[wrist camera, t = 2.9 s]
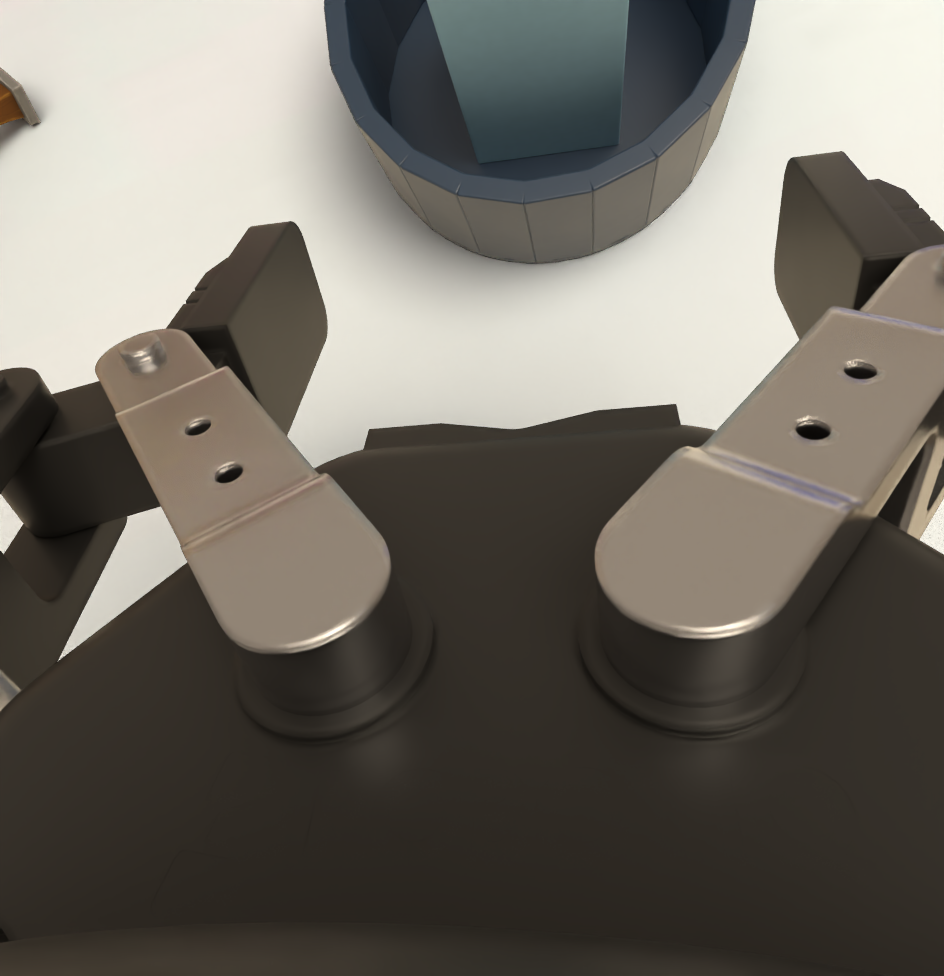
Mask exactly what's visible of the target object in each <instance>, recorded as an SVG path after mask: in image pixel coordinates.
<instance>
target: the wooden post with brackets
mask: <svg viewBox="0 0 944 976" xmlns="http://www.w3.org/2000/svg"><path fill="white" fill-rule="evenodd" d="M20 118H23V119H24V120H25V121H26V122H27V123H29V124H30V125H31V126H32V125H33V124H35V123H41V122H40V120H39V118H38V117H37V115H36V113H35V111H34V109H33V107H32V105H31V103H30V101H29V99H28V97H27V95H26V93H25V91H24V89H23V87H22V85H21V84H19V83H18V82H17V81H16V80H15V79H14V78H12V77H11V76H10V75H9V74H8V73H6V72H5V71H4V70H3V69H2V68H0V125H2V124H4V123H7V122H10V121H13V120H17V119H20Z"/></svg>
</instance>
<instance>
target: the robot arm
mask: <svg viewBox="0 0 944 976" xmlns="http://www.w3.org/2000/svg"><path fill="white" fill-rule="evenodd" d="M774 275H775V284H776V290H777V293H778V296H779V298H780V300H781V302H782V304H783V306H784V308H785V310H786V313H787V315H788V317H789V319H790V321H791V323H792V325H793V327H794V329H795V331H796V334H797V336H798V338H799V341H798V342H797V343H796V345H795V346H794V347H793V348H792V349H791V350H790V351H789V352H788V353H787V354H786V355H785V357H784V358H783V359H782V360H781V361H780V362H779V363H778V364H777V365H776V366H775V367H774V369H773V370H772V371H771V372H770V373H769V374H768V375H767V376H766V377H765V378H764V379H763V381H762V382H761V383H760V384H759V385H758V386H757V387H756V388H755V389H754V390H753V391H752V393H751V394H750V395H749V396H748V397H747V398H746V399H745V400H744V401H743V402H742V403H741V405H740V406H739V407H738V408H737V409H736V410H735V411H734V412H733V413H732V414H731V415H730V417H729V418H728V419H727V420H726V421H725V422H724V423H723V424H722V425H721V426H720V427H719V429H718V430H717V431H715V430H711V429H707V428H701V427H695V426H688V425H681V424H680V420H679V415H678V411H677V406H676V404H671V405H659V406H646V407H634V408H622V409H610V410H598V411H593V412H589V413H585V414H581V415H577V416H573V417H569V418H564V419H560V420H556V421H552V422H548V423H544V424H540V425H536V426H532V427H527V428H523V429H500V428H488V427H477V426H465V425H453V424H442V423H440V424H428V425H416V426H404V427H392V428H379V429H369V431H368V435H367V439H366V442H365V446H364V449H363V450H360V451H357V452H353V453H350V454H347V455H344V456H341V457H338V458H336V459H334V460H331V461H329V462H327V463H324V464H322V465H320V466H318V467H317V468H315V469H314V468H313V467H312V466H311V465H310V464H309V462H308V461H307V460H306V459H305V458H304V456H303V455H302V454H301V453H300V452H299V450H298V449H297V448H296V447H295V446H294V444H293V443H292V442H291V441H290V440H289V439H288V437H287V435H288V432H289V430H290V427H291V425H292V422H293V420H294V418H295V415H296V413H297V410H298V408H299V405H300V403H301V400H302V398H303V395H304V393H305V390H306V388H307V385H308V383H309V381H310V378H311V376H312V373H313V371H314V368H315V366H316V363H317V361H318V358H319V356H320V353H321V351H322V348H323V346H324V344H325V341H326V338H327V327H328V326H327V315H326V310H325V306H324V302H323V299H322V296H321V293H320V289H319V286H318V283H317V280H316V277H315V273H314V270H313V267H312V264H311V261H310V258H309V254H308V251H307V248H306V245H305V242H304V239H303V236H302V233H301V231H300V229H299V227H298V226H297V225H296V224H295V223H294V222H292V221H289V222H282V223H274V224H266V225H258V226H252V227H250V228H249V229H248V230H247V231H246V233H245V234H244V236H243V237H242V239H241V240H240V242H239V243H238V244H237V246H236V247H235V249H234V250H233V252H232V253H231V255H230V256H229V257H228V258H226V259H225V260H223V261H222V262H221V263H219V264H218V265H216V266H215V267H214V268H212V269H211V270H209V271H208V272H207V273H206V274H205V275H204V276H203V278H202V279H201V281H200V282H199V283H198V285H197V286H196V288H195V291H193V292H192V293H191V294H190V296H189V297H188V299H187V300H186V304H183V306H182V307H181V308H180V310H179V311H178V313H177V314H176V315H175V317H174V318H173V320H172V321H171V322H170V324H169V325H168V327H167V328H166V329H160V330H153V331H149V332H145V333H142V334H139V335H136V336H133V337H131V338H128V339H126V340H124V341H122V342H120V343H119V344H117V345H115V346H114V347H112V348H111V349H109V350H108V351H107V352H106V353H105V354H104V355H103V356H102V357H101V358H100V359H99V360H98V362H97V364H96V366H95V372H96V375H97V377H98V379H99V380H100V381H98V382H95V383H91V384H88V385H84V386H80V387H77V388H73V389H69V390H66V391H62V392H59V393H55V394H51V393H50V391H49V389H48V388H47V386H46V385H45V383H44V382H43V380H42V378H41V377H40V375H39V374H38V372H36V371H35V370H33V369H30V368H11V369H5V370H1V371H0V494H1V495H2V496H3V497H4V499H5V500H6V501H7V503H8V504H9V505H10V506H11V508H12V509H13V510H14V512H15V513H16V514H17V516H18V517H19V518H20V520H21V521H22V522H23V523H24V524H23V525H22V527H21V529H20V530H19V532H18V533H17V535H16V536H15V538H14V539H13V541H12V542H11V544H10V546H9V547H8V549H7V550H6V552H5V553H4V555H3V553H2V552H1V551H0V976H944V555H943V554H942V553H940V552H938V551H937V550H935V549H933V548H932V547H930V546H928V545H927V544H925V543H923V542H921V541H920V540H919V539H920V538H921V536H922V534H923V532H924V531H925V529H926V527H927V526H928V524H929V522H930V521H931V519H932V517H933V516H934V514H935V512H936V510H937V509H938V507H939V505H940V504H941V502H942V500H943V499H944V231H943V230H942V229H941V228H940V227H939V226H938V225H937V224H936V223H935V222H934V221H933V220H932V221H930V216H929V215H928V214H927V213H926V212H925V211H924V210H923V209H922V208H919V204H918V203H917V202H916V201H915V200H914V199H913V198H912V197H911V196H910V195H909V194H908V193H907V192H906V190H903V189H901V188H899V187H896V186H894V185H892V184H889V183H887V182H884V181H882V180H880V179H875V180H867V178H866V177H865V176H864V175H863V174H862V173H861V171H860V170H859V169H858V168H857V167H856V166H855V164H854V163H853V162H852V161H851V160H850V159H849V157H848V156H847V155H846V154H845V153H844V152H842V151H840V152H832V153H824V154H816V155H808V156H801V157H793V158H791V159H790V160H789V161H788V163H787V166H786V170H785V174H784V181H783V190H782V198H781V207H780V215H779V224H778V233H777V241H776V250H775V260H774ZM160 506H161V507H162V509H163V511H164V513H165V515H166V517H167V519H168V521H169V522H170V524H171V526H172V528H173V530H174V532H175V534H176V536H177V538H178V540H179V542H180V544H181V546H180V547H181V549H182V552H183V554H184V556H185V558H186V560H187V563H186V564H185V565H183V566H182V567H181V568H179V569H178V570H177V571H176V572H174V573H173V574H172V575H170V576H169V577H168V578H166V579H165V580H164V581H162V582H161V583H160V584H159V585H157V586H156V587H155V588H153V589H152V590H151V591H149V592H148V593H147V594H145V595H144V596H143V597H142V598H140V599H139V600H138V601H136V602H135V603H134V604H132V605H131V606H130V607H128V608H127V609H126V610H125V611H123V612H122V613H121V614H119V615H118V616H117V617H115V618H114V619H113V620H111V621H110V622H109V623H108V624H106V625H105V626H104V627H102V628H101V629H100V630H98V631H97V632H96V633H94V634H93V635H92V636H91V637H89V638H88V639H87V640H85V641H84V642H83V643H81V644H80V645H79V646H77V647H76V648H75V649H74V650H72V651H71V652H70V653H68V654H67V655H66V656H64V657H63V658H62V659H60V660H59V661H58V659H59V657H60V655H61V653H62V651H63V649H64V647H65V645H66V643H67V641H68V639H69V637H70V635H71V633H72V631H73V629H74V627H75V625H76V623H77V621H78V619H79V617H80V615H81V613H82V611H83V610H84V608H85V606H86V604H87V602H88V600H89V598H90V596H91V594H92V592H93V590H94V588H95V586H96V584H97V582H98V580H99V578H100V576H101V574H102V572H103V570H104V568H105V566H106V564H107V562H108V560H109V558H110V556H111V554H112V552H113V550H114V548H115V546H116V544H117V542H118V540H119V538H120V536H121V534H122V532H123V530H124V528H125V525H126V523H127V516H130V515H133V514H136V513H140V512H143V511H147V510H150V509H153V508H157V507H160ZM57 661H58V662H57Z"/></svg>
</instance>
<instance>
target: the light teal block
mask: <svg viewBox="0 0 944 976" xmlns="http://www.w3.org/2000/svg"><path fill="white" fill-rule="evenodd" d="M427 3H428V6H429V10H430V13H431V16H432V19H433V22H434V25H435V29H436V32H437V35H438V38H439V41H440V44H441V47H442V51H443V54H444V57H445V60H446V63H447V66H448V70H449V73H450V76H451V79H452V82H453V85H454V88H455V92H456V95H457V98H458V101H459V104H460V107H461V111H462V114H463V117H464V120H465V123H466V126H467V130H468V133H469V136H470V139H471V142H472V145H473V148H474V152H475V155H476V158H477V161H478V163H479V164H482V163H489V162H496V161H503V160H511V159H518V158H525V157H532V156H540V155H547V154H554V153H561V152H569V151H576V150H583V149H590V148H598V147H605V146H612V145H618V144H619V139H620V124H621V110H622V95H623V81H624V67H625V52H626V38H627V23H628V9H629V0H427Z"/></svg>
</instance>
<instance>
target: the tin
mask: <svg viewBox="0 0 944 976" xmlns="http://www.w3.org/2000/svg"><path fill="white" fill-rule="evenodd" d="M755 1H756V0H629V9H628V23H627V38H626V52H625V67H624V81H623V95H622V110H621V124H620V139H619V144H618V145H612V146H605V147H598V148H590V149H583V150H576V151H569V152H561V153H554V154H547V155H540V156H532V157H525V158H518V159H511V160H503V161H496V162H489V163H482V164H479V163H478V161H477V158H476V155H475V152H474V148H473V145H472V142H471V139H470V136H469V133H468V130H467V126H466V123H465V120H464V117H463V114H462V111H461V107H460V104H459V101H458V98H457V95H456V92H455V88H454V85H453V82H452V79H451V76H450V73H449V70H448V66H447V63H446V60H445V57H444V54H443V51H442V47H441V44H440V41H439V38H438V35H437V32H436V29H435V25H434V22H433V19H432V16H431V13H430V10H429V6H428V3H427V0H324V12H325V21H326V31H327V40H328V50H329V59H330V66H331V70H332V72H333V75H334V77H335V79H336V81H337V83H338V85H339V88H340V90H341V92H342V94H343V96H344V98H345V101H346V103H347V105H348V107H349V109H350V111H351V114H352V116H353V118H354V120H355V122H356V124H357V126H358V127H359V129H360V131H361V132H362V134H363V136H364V137H365V139H366V141H367V142H368V144H369V146H370V148H371V149H372V151H373V153H374V154H375V156H376V158H377V159H378V161H379V163H380V165H381V166H382V168H383V170H384V171H385V173H386V175H387V176H388V178H389V180H390V181H391V183H392V185H393V187H394V188H395V190H396V192H397V193H398V195H399V196H400V197H401V198H402V199H403V200H404V201H405V202H406V203H407V204H408V205H409V206H410V207H411V209H412V210H413V211H414V212H415V213H416V214H417V215H418V216H419V217H420V218H421V219H422V220H423V221H424V222H425V223H426V224H427V225H428V226H429V227H430V228H431V229H432V230H435V232H437V233H439V234H441V235H442V236H443V237H445V238H446V239H448V240H450V241H452V242H453V243H455V244H457V245H459V246H461V247H463V248H465V249H467V250H470V251H473V252H475V253H478V254H481V255H484V256H487V257H491V258H495V259H500V260H505V261H510V262H523V263H547V262H558V261H564V260H569V259H575V258H580V257H583V256H586V255H589V254H592V253H596V252H599V251H602V250H604V249H606V248H608V247H611V246H613V245H615V244H617V243H619V242H622V241H624V240H625V239H627V238H629V237H630V236H632V235H633V234H635V233H637V232H638V231H640V230H642V229H643V228H645V227H646V226H647V225H648V224H650V223H651V222H652V221H653V220H655V219H656V218H657V217H658V216H660V215H661V214H662V213H663V212H664V211H665V210H666V209H667V208H668V207H669V206H670V205H671V204H672V203H673V202H674V201H675V200H676V199H677V198H678V197H679V196H680V195H681V194H682V192H683V191H684V190H685V189H686V188H687V187H688V185H689V184H690V183H691V181H692V180H693V178H694V176H695V175H696V173H697V171H698V170H699V168H700V166H701V165H702V163H703V161H704V159H705V158H706V156H707V154H708V151H709V149H710V147H711V146H712V144H713V142H714V140H715V138H716V137H717V135H718V132H719V129H720V126H721V123H722V120H723V117H724V113H725V110H726V107H727V104H728V101H729V98H730V95H731V92H732V88H733V85H734V82H735V79H736V76H737V73H738V70H739V67H740V63H741V60H742V57H743V54H744V51H745V48H746V45H747V41H748V36H749V31H750V26H751V21H752V16H753V11H754V6H755Z"/></svg>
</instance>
